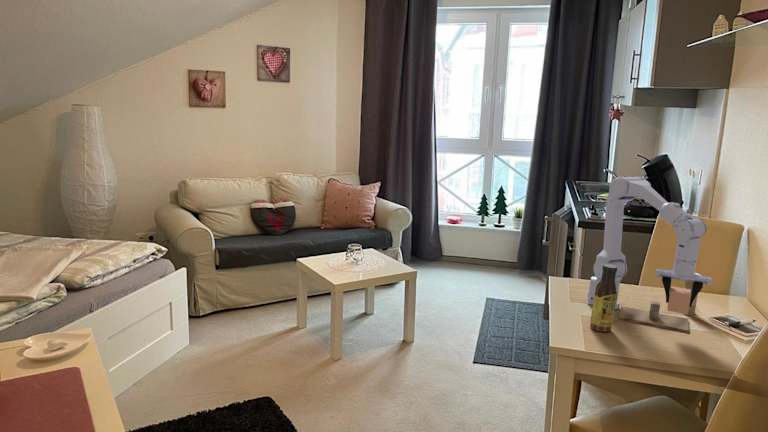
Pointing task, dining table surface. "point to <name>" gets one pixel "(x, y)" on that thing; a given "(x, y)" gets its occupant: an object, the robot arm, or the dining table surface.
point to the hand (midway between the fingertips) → (678, 303)
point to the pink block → (679, 300)
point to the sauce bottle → (604, 300)
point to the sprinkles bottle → (692, 309)
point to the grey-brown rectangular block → (654, 318)
